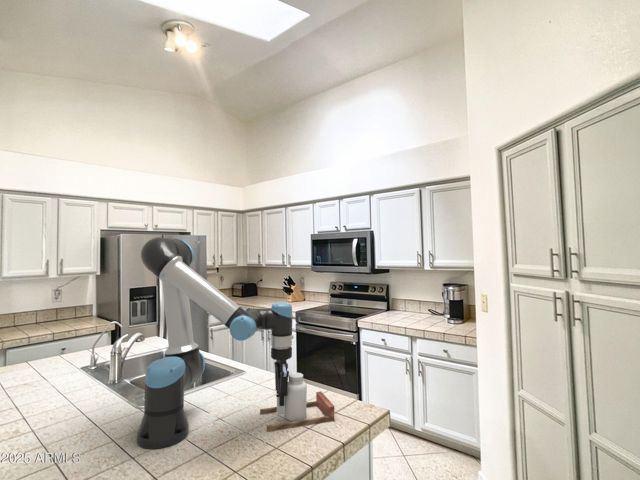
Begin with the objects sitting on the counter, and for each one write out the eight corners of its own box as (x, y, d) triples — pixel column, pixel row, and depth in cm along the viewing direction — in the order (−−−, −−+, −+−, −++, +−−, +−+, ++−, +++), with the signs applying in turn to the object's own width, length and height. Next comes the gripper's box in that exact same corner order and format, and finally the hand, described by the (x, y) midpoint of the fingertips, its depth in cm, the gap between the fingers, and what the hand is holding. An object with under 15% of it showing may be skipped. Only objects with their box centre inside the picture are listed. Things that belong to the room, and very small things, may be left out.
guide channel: (267, 431, 112) (267, 416, 112) (260, 413, 125) (260, 399, 125) (334, 420, 120) (334, 406, 120) (321, 404, 133) (321, 391, 133)
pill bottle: (296, 424, 117) (297, 380, 118) (279, 417, 122) (280, 375, 122) (310, 415, 123) (311, 374, 124) (294, 409, 128) (294, 369, 129)
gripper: (296, 350, 117) (295, 420, 116) (287, 341, 129) (286, 404, 128) (275, 352, 114) (274, 423, 113) (267, 343, 127) (266, 407, 126)
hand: (280, 413), depth 121 cm, fingers closed
